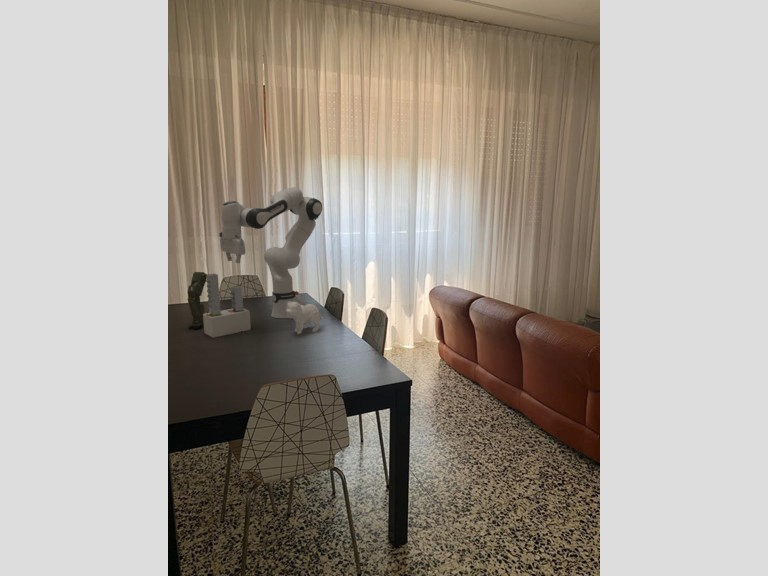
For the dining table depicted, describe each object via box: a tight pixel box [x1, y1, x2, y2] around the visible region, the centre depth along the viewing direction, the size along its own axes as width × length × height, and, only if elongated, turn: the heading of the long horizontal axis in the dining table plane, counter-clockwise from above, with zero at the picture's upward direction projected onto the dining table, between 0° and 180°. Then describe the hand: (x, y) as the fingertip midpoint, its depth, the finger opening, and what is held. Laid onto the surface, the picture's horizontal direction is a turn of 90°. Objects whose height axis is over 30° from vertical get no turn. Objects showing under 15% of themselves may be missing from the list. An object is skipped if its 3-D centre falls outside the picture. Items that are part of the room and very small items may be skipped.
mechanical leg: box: [187, 271, 207, 331], centre depth 231 cm, size 14×7×30 cm, turn 169°
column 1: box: [205, 273, 222, 317], centre depth 217 cm, size 4×4×22 cm
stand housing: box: [203, 307, 252, 338], centre depth 225 cm, size 20×10×11 cm, turn 134°
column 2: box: [230, 285, 244, 312], centre depth 227 cm, size 4×4×22 cm
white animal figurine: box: [286, 301, 324, 335], centre depth 226 cm, size 25×10×17 cm, turn 141°
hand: (233, 262), depth 223 cm, fingers open, 8 cm apart
